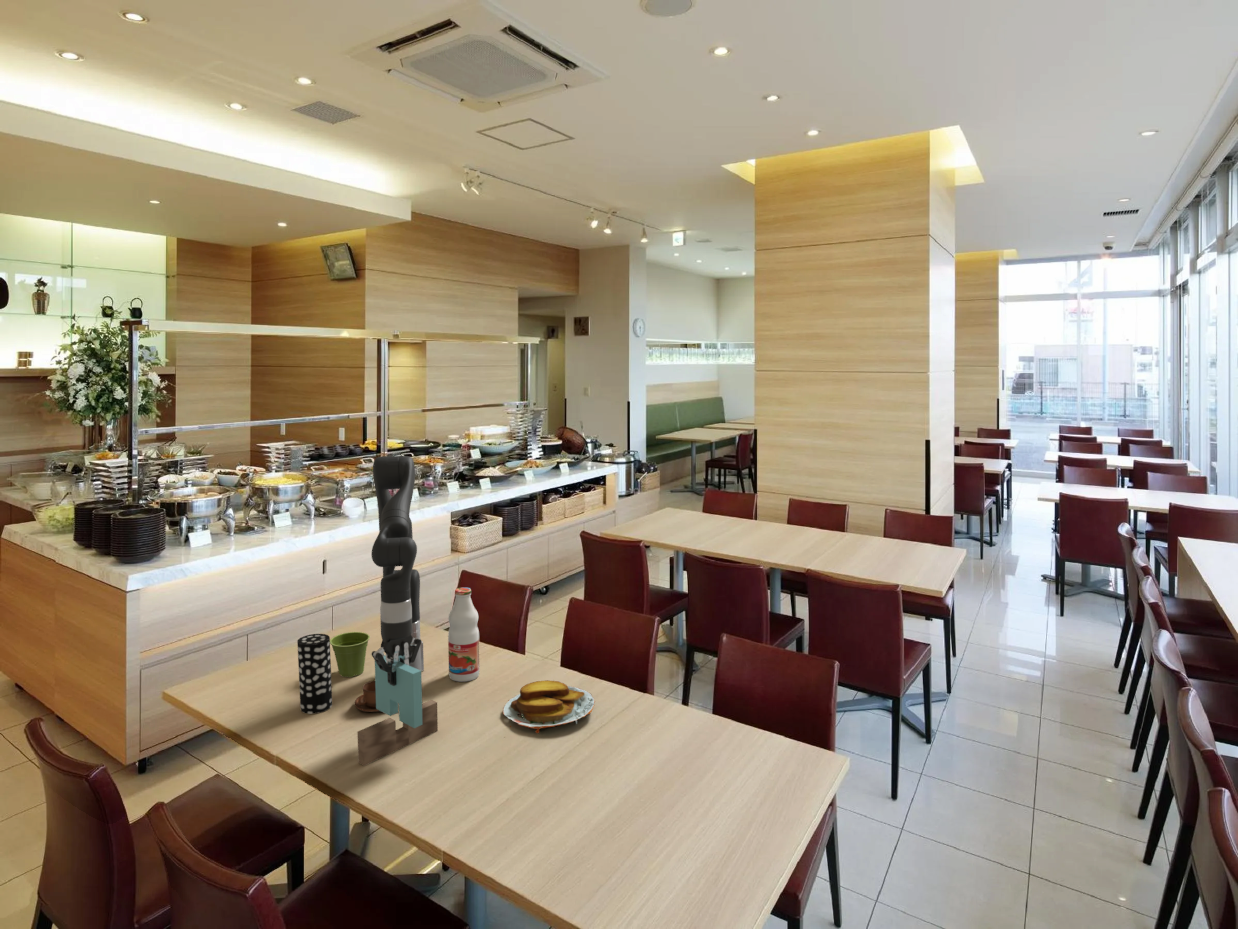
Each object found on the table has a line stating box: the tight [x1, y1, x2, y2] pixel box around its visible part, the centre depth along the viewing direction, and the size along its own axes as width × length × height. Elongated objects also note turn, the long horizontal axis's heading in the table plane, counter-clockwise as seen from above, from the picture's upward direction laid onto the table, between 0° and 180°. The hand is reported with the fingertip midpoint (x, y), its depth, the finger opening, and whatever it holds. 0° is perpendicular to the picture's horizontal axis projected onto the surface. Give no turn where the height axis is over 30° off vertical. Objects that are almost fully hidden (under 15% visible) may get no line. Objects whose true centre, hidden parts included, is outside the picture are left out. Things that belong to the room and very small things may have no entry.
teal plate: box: [374, 654, 423, 728], centre depth 182 cm, size 2×16×14 cm, turn 52°
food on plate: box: [502, 680, 596, 734], centre depth 203 cm, size 26×26×7 cm
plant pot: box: [330, 631, 371, 678], centre depth 226 cm, size 12×12×11 cm
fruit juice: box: [447, 587, 480, 683], centre depth 224 cm, size 9×9×28 cm
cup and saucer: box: [353, 680, 380, 713], centre depth 205 cm, size 12×12×6 cm
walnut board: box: [356, 699, 439, 767], centre depth 184 cm, size 22×2×8 cm, turn 142°
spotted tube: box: [296, 633, 333, 715], centre depth 203 cm, size 8×8×20 cm
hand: (398, 682), depth 182 cm, fingers closed on teal plate, 2 cm apart
